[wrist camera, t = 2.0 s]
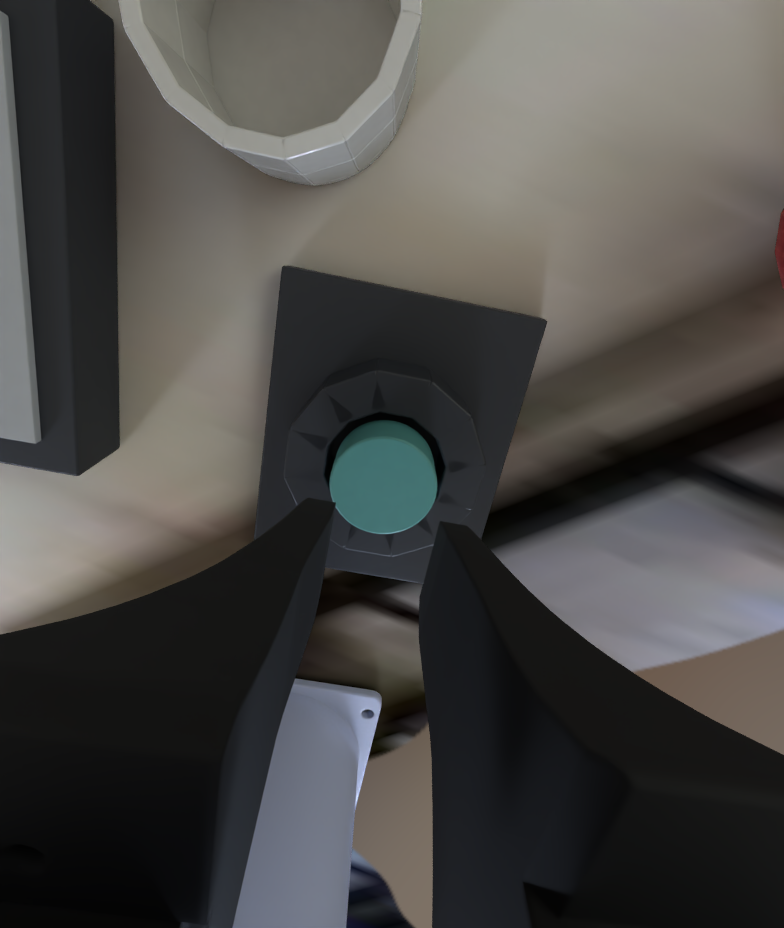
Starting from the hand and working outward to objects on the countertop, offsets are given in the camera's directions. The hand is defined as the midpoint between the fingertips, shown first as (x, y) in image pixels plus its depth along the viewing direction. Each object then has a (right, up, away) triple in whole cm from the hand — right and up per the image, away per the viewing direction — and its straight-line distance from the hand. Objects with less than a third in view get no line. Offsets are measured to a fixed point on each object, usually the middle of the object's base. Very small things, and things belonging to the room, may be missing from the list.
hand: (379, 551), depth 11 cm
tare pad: (0, +3, +6) cm, 7 cm away
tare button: (0, +2, +4) cm, 5 cm away
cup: (-2, +12, +2) cm, 13 cm away
